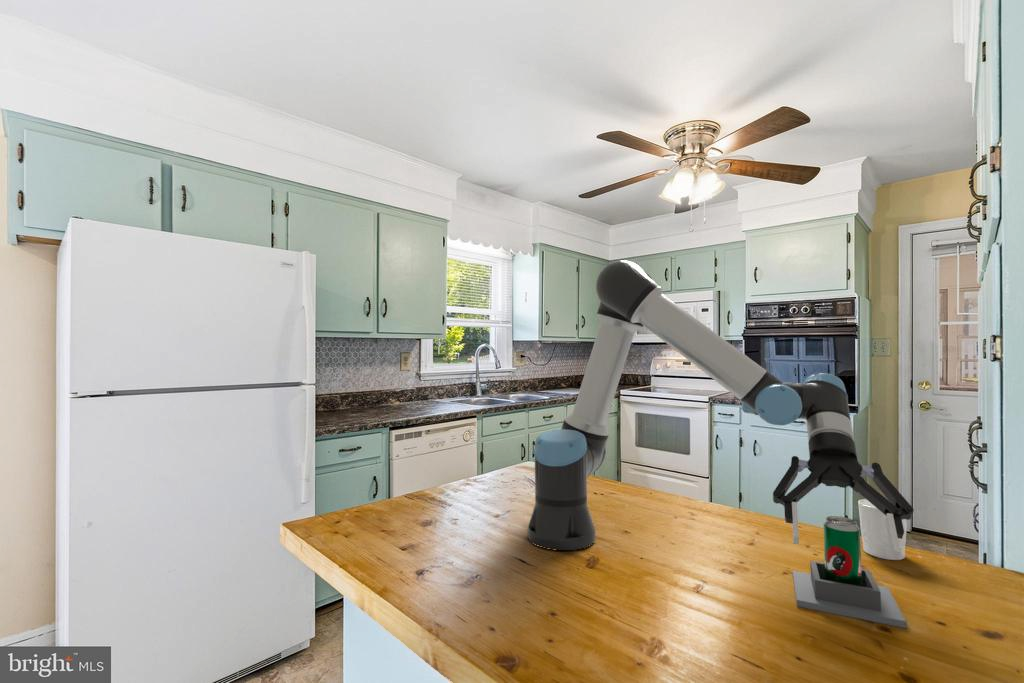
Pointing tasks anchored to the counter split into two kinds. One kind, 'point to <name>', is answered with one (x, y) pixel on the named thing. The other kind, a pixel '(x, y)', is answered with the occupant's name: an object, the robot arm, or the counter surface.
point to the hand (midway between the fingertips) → (844, 548)
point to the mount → (847, 597)
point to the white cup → (877, 532)
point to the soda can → (842, 551)
